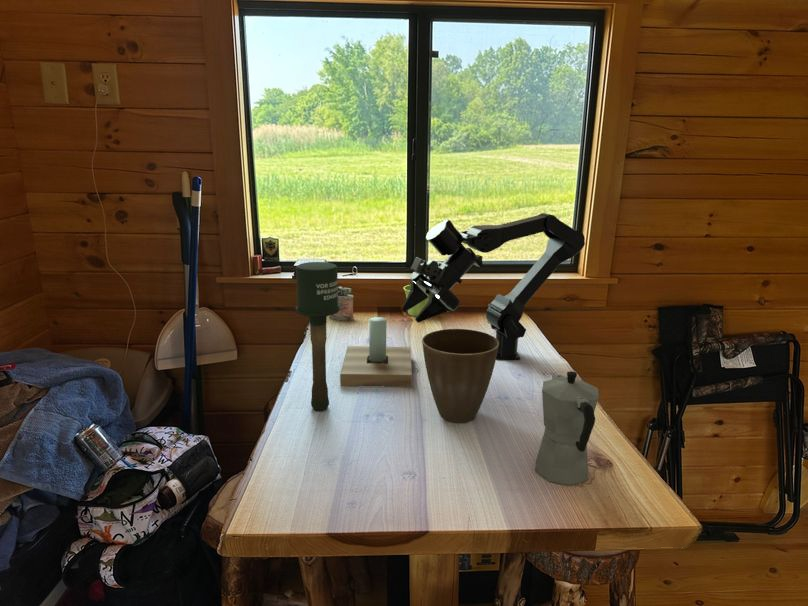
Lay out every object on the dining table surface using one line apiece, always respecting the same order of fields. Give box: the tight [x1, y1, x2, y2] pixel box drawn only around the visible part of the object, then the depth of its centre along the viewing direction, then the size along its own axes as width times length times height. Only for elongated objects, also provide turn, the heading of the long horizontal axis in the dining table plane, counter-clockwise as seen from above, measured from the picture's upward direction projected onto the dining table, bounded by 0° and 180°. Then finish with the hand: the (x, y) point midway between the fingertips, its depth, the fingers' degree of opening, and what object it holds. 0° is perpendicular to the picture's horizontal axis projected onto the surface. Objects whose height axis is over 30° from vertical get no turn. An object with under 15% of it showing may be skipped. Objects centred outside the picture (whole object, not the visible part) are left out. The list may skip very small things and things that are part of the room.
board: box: [339, 345, 413, 388], centre depth 135 cm, size 18×16×3 cm
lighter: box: [328, 286, 355, 322], centre depth 175 cm, size 8×3×10 cm, turn 73°
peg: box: [368, 316, 387, 364], centre depth 134 cm, size 4×4×13 cm
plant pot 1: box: [403, 284, 429, 317], centre depth 181 cm, size 9×9×9 cm
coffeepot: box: [534, 370, 600, 486], centre depth 92 cm, size 15×9×18 cm, turn 6°
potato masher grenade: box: [295, 261, 340, 412], centre depth 112 cm, size 8×9×30 cm
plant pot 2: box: [421, 328, 499, 424], centre depth 113 cm, size 15×15×16 cm
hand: (409, 315), depth 135 cm, fingers open, 9 cm apart
